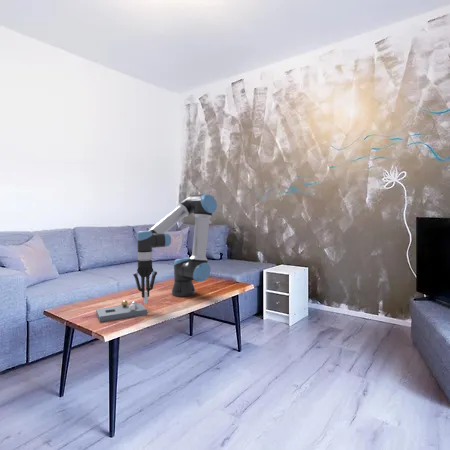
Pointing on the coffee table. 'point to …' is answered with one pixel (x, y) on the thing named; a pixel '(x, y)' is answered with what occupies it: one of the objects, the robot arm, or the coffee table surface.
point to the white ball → (132, 307)
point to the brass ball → (124, 303)
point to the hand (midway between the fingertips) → (145, 303)
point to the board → (120, 312)
